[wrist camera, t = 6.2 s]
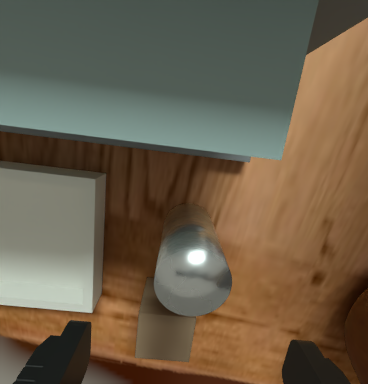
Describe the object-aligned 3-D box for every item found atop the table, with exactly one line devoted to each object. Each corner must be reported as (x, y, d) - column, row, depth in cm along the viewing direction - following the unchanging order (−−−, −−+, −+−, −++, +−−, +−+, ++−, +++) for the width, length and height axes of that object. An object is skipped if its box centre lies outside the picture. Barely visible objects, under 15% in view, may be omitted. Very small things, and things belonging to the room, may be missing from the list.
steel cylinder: (215, 206, 20) (238, 253, 12) (208, 250, 21) (224, 319, 13) (166, 200, 20) (157, 244, 12) (161, 245, 21) (150, 312, 13)
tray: (106, 173, 19) (95, 179, 17) (101, 293, 22) (92, 312, 20) (-54, 154, 18) (-90, 157, 16) (-36, 280, 21) (-64, 298, 19)
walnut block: (193, 281, 22) (196, 318, 18) (187, 318, 23) (188, 362, 19) (147, 276, 22) (138, 313, 17) (143, 314, 23) (134, 357, 19)
